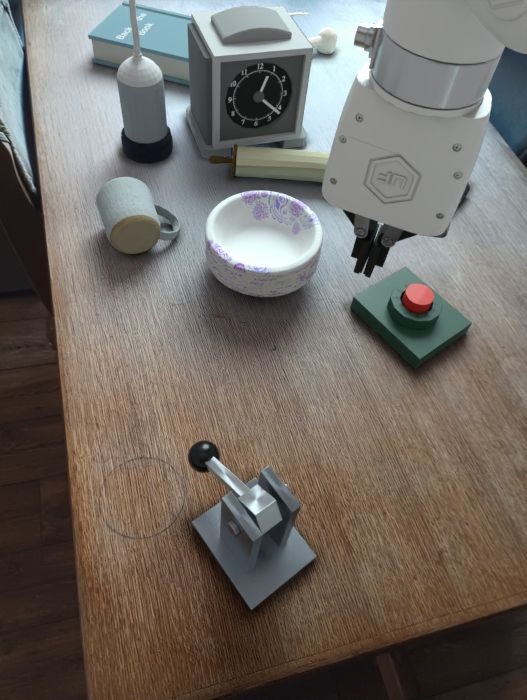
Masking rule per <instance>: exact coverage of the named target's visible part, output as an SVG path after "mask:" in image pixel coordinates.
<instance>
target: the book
mask: <svg viewBox="0 0 527 700" xmlns="http://www.w3.org/2000/svg"><path fill="white" fill-rule="evenodd" d="M135 5H136V18H137V25H138V30H139V38H140V52H141V53H142V56H144V57H147V58H149V59H150V60H152V61H153V62H154V63H155V64H156V65H157V66H158V67H159V68H160V70H161V72H162V75H163V76H162V77H163V80H164V81H169V82H173V83H176V84H177V83H178V84H182V85H186V86H189V87H190V81H189V54H188V27H187V23H192V19H191V15H187V14H183V13H178V12H175V11H170V10H167V9H163V8H157V7H153V6H148V5H145V4H139V3H135ZM87 37H88V40H91V45H92V50H93V57H92V58H91V59H92V63H94V64H99V65H103V66H107V67H110V68H115V69H119V67H120V65H121V64H122V63H123V62H124V61H125V60H126V59H128V58H130V57H132V56H133V53H134V45H133V33H132V27H131V22H130V7H129V1H126V0H123V1H122V2H121V4H119V5H118V6H117V7H116V8H115V9H114V10H113V11H111V12H110V14H109V15H107V16H106V17H105V18H104V19H103V20H102V21H100V23H99V24H97V26H95V27H94V28H93V29H92V30H91V31H90V32H89V33H88V34H87Z"/></svg>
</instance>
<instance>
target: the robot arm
mask: <svg viewBox="0 0 527 700" xmlns="http://www.w3.org/2000/svg"><path fill="white" fill-rule="evenodd" d="M385 3H386V4H385V8H384V12H383V17H382V19H379V21H378V23H374V22H371V24H367V23H364V22H359V24H358V26H357V29H356V32H355V34H354V35H355V36H354V40H353V46H354V47H359V48H361V49H363V50H364V52H368V59H370V60H368V61H366V62H365V63H364V64H363V66H362V67H361V68H359V70H358V71H357V73H356V75H355V77H354V80H353V82H352V84H351V87H350V88H349V91H348V94H347V97H346V99H345V101H344V104H343V108H342V111H341V114H340V117H339V120H338V123H337V127H336V130H335V134H334V137H333V139H332V140H333V141H332V144H331V147H330V151H329V153H330V155H329V159H328V163H327V166H326V170H325V174H324V179H323V182H322V185H321V190H320V196H321V198H322V199H323V200H325V201H327V202H328V203H329V204H331V205H332V206H333V207H336V208H338V209H340V210H342V211H343V213H344V214H345V216H346V217H347V219H348V220H349V222H350V223H351V225H352V226H353V234H354V236H355V239H354V244H353V247H352V251H351V254H350V257H351V258H354V259H356V262H355V265H354V267H353V273H354V274H357V275H360V274H362V275H364V277H365V278H368V279H371V276H372V275H373V272H374V269H375V267H378V268H384V266H385V262H386V260H387V258H388V255H389V252H390V249H391V248H393V247H394V246H396V243H398V242H400V241H404V240H407V239H410V238H413V237H417V236H418V235H419V236H423V237H428V238H429V237H431V238H436V239H437V238H439V239H444V238H446V237H448V233H449V230H450V227H451V224H452V220H453V218H454V215H455V214H456V211H457V209H458V207H459V206H460V204H459V202H460V200H461V198H462V195H463V193H464V190H465V188H466V186H467V183H468V181H469V182H470V178H471V176H472V173H473V170H474V168H475V165H476V162H477V160H478V157H479V155H480V152H481V149H482V146H483V143H484V140H485V137H486V132H487V128H488V126H489V122H490V116H491V110H492V102H493V96H492V93H491V91H490V90H489V86H490V83H491V81H492V79H493V76H494V74H495V72H496V69H497V67H498V65H499V63H500V60H501V58H502V55H503V53H504V50H505V48H508V49H509V50H511V51H514V52H515V53H519V54H524V55H527V0H386V2H385ZM460 203H461V202H460ZM380 223H381V225H380Z"/></svg>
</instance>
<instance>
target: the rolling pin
mask: <svg viewBox="0 0 527 700" xmlns="http://www.w3.org/2000/svg"><path fill="white" fill-rule="evenodd" d="M232 148H233V149H232V156H227V157H221V156H211V157H210V158H208V160H209V162H208V163H210V164H211V165H221V164H223V165H224V164H230V165H231V169H230V171H231V172H230V173H231V178H236V177H243V178H260V179H277V180H291V181H306V182H314V183H315V182H317V183H323V179H324V174H325V170H326V166H327V163H328V159H329V155H330V151H329V152H327V151H318V150H317V151H316V150H307V149H292V148H285V149H283V148H277V147H265V146H264V147H262V146H249V145H246V146H238V145H237V144H234V147H232Z"/></svg>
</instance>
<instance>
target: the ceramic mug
mask: <svg viewBox="0 0 527 700" xmlns="http://www.w3.org/2000/svg"><path fill="white" fill-rule="evenodd" d="M95 203H96V208H97V211H98V213H99V217H100V219H101V222H102V225H103V228H104V231H105V234H106V237H107V239H108V240H109V242H110V244H111V246H113V249H116V250H117V251H119V252H120V253H122V254H128V255H139V254H142V253H145V252H147V251H148V250H151V249H152V248H153V247H154V246H155V245H156V244H157V243H158V242H159V240H160V241H166V242H167V241H173V240H174V239H176V238H177V237H178V235H179V233H180V230H181V227H182V226H181V221H180V219H179V217H178V216H177V215H176V214H175V213H174V211H172V210H171V209H169V208H168V207H165V206H163V205H161V204H157V203H154V199H153V195H152V193H151V191H150V188H149V186H147V184H146V183H145V182H143V181H141V180H140V179H138V178H135V177H130V176H120V177H119V176H118V177H115V178H113V179H111V180H109V181H107V182H105V183H104V184H102V186H101V187H100V188H99V190H98V191H97V194H96V197H95ZM159 216H160V217H163V218H164V219H165V220H167V221H168V222H169V223H170V224H171V226H172V231H165V230H162V229H161V221H160V218H159Z"/></svg>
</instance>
